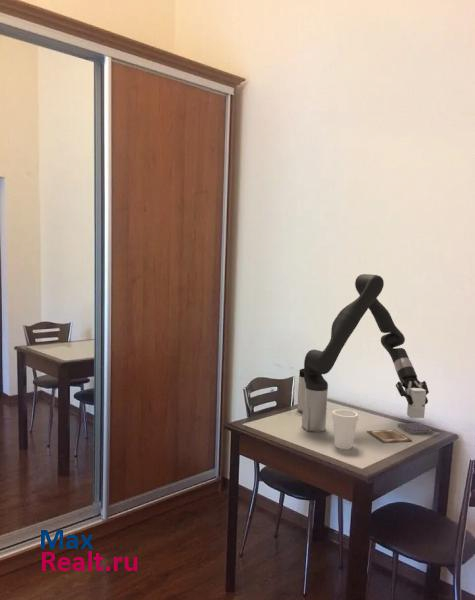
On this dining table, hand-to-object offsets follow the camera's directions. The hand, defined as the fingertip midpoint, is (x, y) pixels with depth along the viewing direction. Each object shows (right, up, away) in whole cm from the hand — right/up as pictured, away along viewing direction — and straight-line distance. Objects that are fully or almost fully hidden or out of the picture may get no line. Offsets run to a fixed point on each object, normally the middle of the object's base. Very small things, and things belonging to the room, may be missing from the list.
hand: (418, 403), depth 217 cm
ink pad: (-1, -12, +2) cm, 12 cm away
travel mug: (-46, -8, +24) cm, 52 cm away
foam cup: (-36, -12, -20) cm, 43 cm away
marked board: (-15, -12, -7) cm, 20 cm away
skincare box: (-1, -6, +2) cm, 7 cm away
